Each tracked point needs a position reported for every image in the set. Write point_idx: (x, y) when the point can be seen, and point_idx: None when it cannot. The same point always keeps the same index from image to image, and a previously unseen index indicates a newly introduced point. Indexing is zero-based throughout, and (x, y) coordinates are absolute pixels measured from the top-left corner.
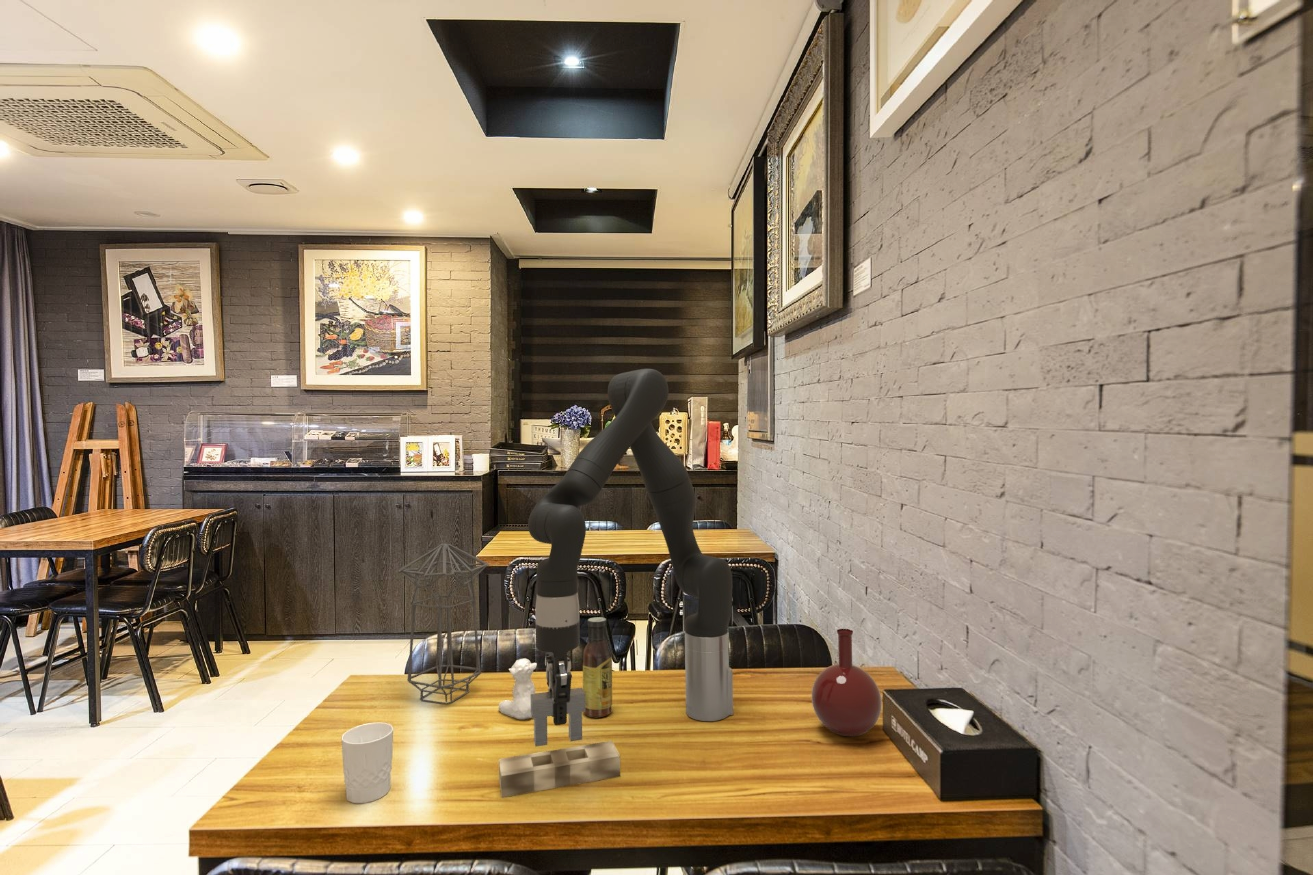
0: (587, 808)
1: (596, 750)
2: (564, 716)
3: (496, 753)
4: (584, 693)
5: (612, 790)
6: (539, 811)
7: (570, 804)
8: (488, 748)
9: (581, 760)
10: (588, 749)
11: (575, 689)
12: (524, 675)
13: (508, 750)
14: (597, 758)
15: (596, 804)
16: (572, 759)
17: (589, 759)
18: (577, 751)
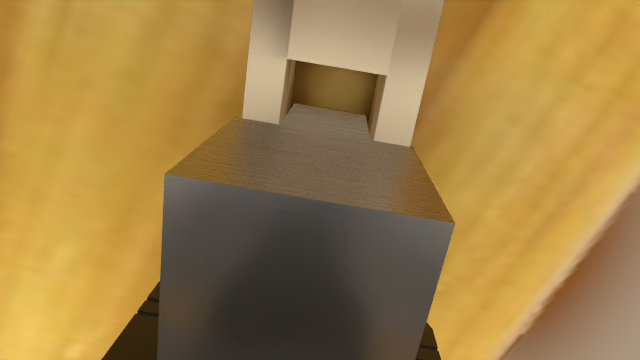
0: (577, 149)
1: (337, 6)
2: (438, 351)
3: (52, 301)
4: (437, 230)
5: (526, 11)
6: (489, 287)
7: (514, 192)
8: (7, 314)
9: (397, 117)
10: (306, 43)
11: (205, 284)
12: None
13: (41, 264)
14: (423, 36)
15: (576, 110)
16: (284, 113)
17: (409, 78)
18: (282, 94)
